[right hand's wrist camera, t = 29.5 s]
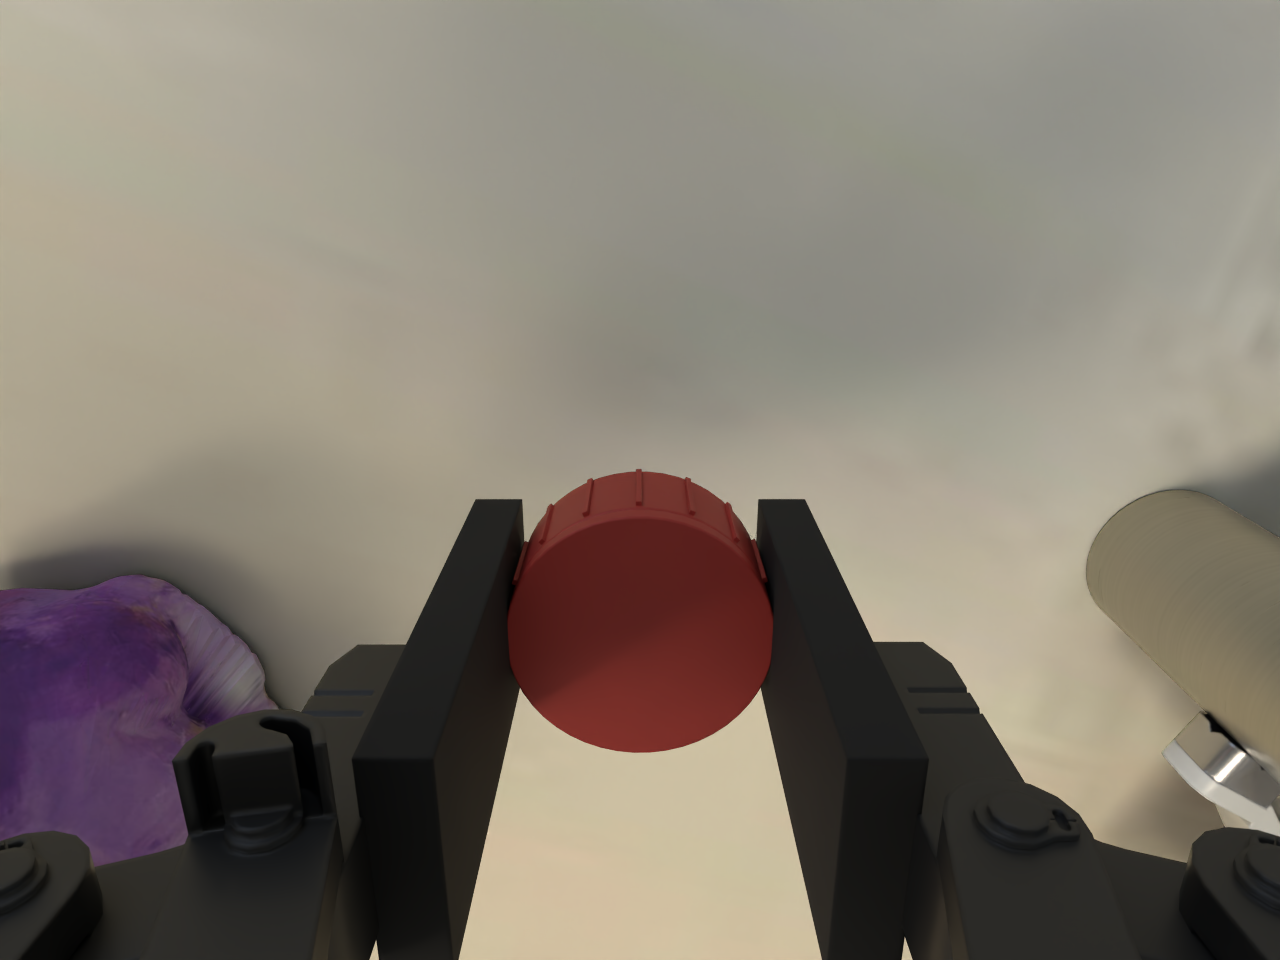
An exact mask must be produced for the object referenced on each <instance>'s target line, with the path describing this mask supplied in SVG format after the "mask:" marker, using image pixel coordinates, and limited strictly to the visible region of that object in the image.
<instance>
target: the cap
mask: <svg viewBox="0 0 1280 960" xmlns="http://www.w3.org/2000/svg"><path fill="white" fill-rule="evenodd" d="M765 582H768V580H767V576H766V573H765V570H764V566H763V563H762V560H761V556H760V553H759V550H758V546H757V543H756V541H755V539H753V540H751V539H750V536H749V534H748V532H747V531H746V529H745V527H744V526H743V524H742V522H741V521H740V520H739V518H738V517H737V516H736V515H735V513H734V512H733V511H732V507H731V504H730V503H728V502H727V503H726V504H725V503H724V502H723V501H722V500H721V499H719V498H718V497H716V496H715V495H714V494H712V493H711V492H709V491H708V490H706V489H704V488H702V487H701V486H699V485H697V484H695V483H693V482H691V479H690V478H687V477H686V478H685V479H682V478H679V477H676V476H671V475H667V474H663V473H654V472H642V470H641V469H636V472H626V473H618V474H613V475H609V476H605V477H601V478H598V479H596V480H593V479H592V478H591V479H588V480H587V483H586V484H583V485H582V486H580V487H578V488H576V489H575V490H573V491H571V492H570V493H568V494H567V495H566V496H564V497H563V498H561V499H560V500H559V501H558V502H557V503H556V504H555V505H554V506H553V505H552V504H550V505H549V506H548V508H547V511H546V514H545V515H544V516H543V518H542V519H541V520H540V522H539V523H538V525H537V526H536V528H535V530H534V532H533V533H532V535H531V537H530V540H529V542H526V541H525V542H524V544H523V548H522V551H521V554H520V558H519V561H518V564H517V568H516V571H515V574H514V578H513V581H512V584H513V585H515V588H514V591H513V595H512V598H511V601H510V605H509V610H508V614H507V623H508V641H509V657H510V666H511V669H512V671H513V674H514V677H515V679H516V681H517V683H518V684H519V686H520V688H521V690H522V692H523V693H524V695H525V696H526V697H527V699H528V700H529V701H530V703H531V704H532V705H533V706H534V707H535V708H536V710H537V711H538V712H539V713H540V714H541V715H542V716H543V717H544V718H546V719H547V720H548V721H549V722H551V723H552V724H553V725H554V726H556V727H557V728H559V729H560V730H562V731H564V732H565V733H567V734H569V735H570V736H572V737H575V738H577V739H579V740H581V741H583V742H586V743H589V744H592V745H595V746H598V747H601V748H605V749H610V750H615V751H623V752H633V753H640V752H658V751H666V750H671V749H675V748H679V747H683V746H686V745H689V744H692V743H695V742H697V741H700V740H702V739H704V738H706V737H708V736H710V735H712V734H714V733H715V732H717V731H718V730H720V729H722V728H723V727H725V726H726V725H727V724H729V723H730V722H731V721H732V720H734V719H735V718H736V717H737V716H738V715H739V714H740V713H741V712H742V711H743V710H744V709H745V708H746V707H747V706H748V705H749V704H750V702H751V701H752V699H753V698H754V697H755V695H756V694H757V692H758V691H759V689H760V687H761V685H762V684H763V682H764V680H765V678H766V676H767V673H768V670H769V667H770V664H771V651H772V634H773V611H772V607H771V603H770V600H769V596H768V593H767V589H766V586H765Z"/></svg>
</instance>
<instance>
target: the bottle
mask: <svg viewBox="0 0 1280 960" xmlns="http://www.w3.org/2000/svg"><path fill="white" fill-rule="evenodd" d="M1086 576H1087V583H1088V588H1089V591H1090V594H1091V596H1092V598H1093V599H1094V601H1095V603H1096V604H1097V605H1098V606H1099V608H1100V609H1101V610H1102V611H1103V612H1104V613H1105V614H1106V615H1107V616H1108V617H1109V618H1110V619H1111V620H1112V621H1113V622H1115V623H1116V624H1117V625H1118V626H1119V627H1120V628H1121V629H1122V630H1123V631H1124V632H1125V633H1126V634H1127V635H1128V636H1129V637H1130V638H1131V639H1132V640H1133V641H1134V642H1135V643H1136V644H1137V645H1138V646H1139V647H1140V648H1141V649H1142V650H1143V651H1144V652H1145V653H1146V654H1147V655H1148V656H1149V657H1150V658H1151V659H1152V660H1153V661H1154V662H1155V663H1156V664H1157V665H1158V666H1159V667H1160V668H1161V669H1163V670H1164V671H1165V672H1166V673H1167V674H1168V675H1169V676H1170V677H1171V678H1172V679H1173V680H1174V681H1175V682H1176V683H1177V684H1178V685H1179V686H1180V687H1181V688H1182V689H1183V690H1184V691H1185V692H1186V693H1187V694H1188V695H1189V696H1190V697H1191V698H1192V699H1193V700H1194V701H1195V702H1196V703H1197V704H1198V705H1199V706H1200V707H1201V708H1202V709H1203V710H1204V711H1205V712H1206V713H1207V714H1208V715H1210V716H1211V717H1212V718H1213V719H1214V720H1215V721H1216V722H1217V723H1218V724H1219V725H1220V726H1221V727H1222V728H1223V729H1224V730H1225V731H1226V732H1227V733H1228V734H1229V735H1230V736H1231V737H1232V738H1233V739H1234V740H1235V741H1236V742H1237V743H1238V744H1239V745H1240V746H1241V747H1242V748H1243V749H1244V750H1245V751H1246V752H1247V753H1248V754H1249V755H1250V756H1251V757H1252V758H1253V759H1254V760H1255V761H1256V762H1258V763H1259V764H1260V765H1261V766H1262V767H1263V768H1264V769H1265V770H1266V771H1267V772H1268V773H1269V774H1270V775H1271V776H1272V777H1273V778H1274V779H1275V780H1276V781H1277V782H1278V783H1279V784H1280V538H1279V537H1277V536H1276V535H1274V534H1272V533H1271V532H1269V531H1267V530H1266V529H1264V528H1262V527H1261V526H1259V525H1257V524H1256V523H1254V522H1252V521H1251V520H1249V519H1247V518H1246V517H1244V516H1242V515H1241V514H1239V513H1237V512H1236V511H1234V510H1232V509H1231V508H1229V507H1227V506H1226V505H1224V504H1222V503H1221V502H1219V501H1217V500H1216V499H1214V498H1212V497H1210V496H1208V495H1205V494H1202V493H1199V492H1194V491H1189V490H1171V491H1163V492H1158V493H1155V494H1151V495H1148V496H1145V497H1143V498H1141V499H1138V500H1136V501H1135V502H1133V503H1131V504H1129V505H1128V506H1126V507H1125V508H1123V509H1122V510H1120V511H1119V512H1118V513H1117V514H1116V515H1115V516H1113V517H1112V518H1111V519H1110V520H1109V521H1108V522H1107V524H1106V525H1105V526H1104V527H1103V528H1102V530H1101V531H1100V532H1099V534H1098V535H1097V537H1096V539H1095V541H1094V543H1093V545H1092V547H1091V550H1090V552H1089V556H1088V560H1087V568H1086Z"/></svg>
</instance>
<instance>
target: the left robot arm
mask: <svg viewBox="0 0 1280 960" xmlns="http://www.w3.org/2000/svg"><path fill="white" fill-rule="evenodd" d="M1162 755H1163V756H1164V758H1165V759H1166V760H1167V761H1168V762H1169V763H1170V764H1171V766H1172V767H1173V768H1174V769H1175V770H1176V771H1177V772H1178V773H1179V775H1180V776H1181V777H1182V778H1183V779H1184V780H1185V781H1186V783H1187V784H1188V785H1190V786H1191V787H1192V788H1193V789H1194V790H1196V791H1197V792H1198V793H1199V794H1201V795H1202V796H1203V797H1205V798H1206V799H1207V800H1209V801H1211V802H1213V803H1215V806H1216V808H1217V810H1218V813H1219V815H1220V818H1221V820H1222V822H1223V825H1224V826H1225V827H1234V828H1244V829H1254V830H1260V831H1263V832H1267V833H1270V834H1273V835H1276V836H1280V784H1279V783H1278V782H1277V781H1276V780H1275V779H1274V778H1273V777H1272V776H1271V775H1270V774H1269V773H1268V772H1267V771H1266V770H1265V769H1264V768H1263V767H1262V766H1261V765H1260V764H1259V763H1258V762H1256V761H1255V760H1254V759H1253V758H1252V757H1251V756H1250V755H1249V754H1248V753H1247V752H1246V751H1245V750H1244V749H1243V748H1242V747H1241V746H1240V745H1239V744H1238V743H1237V742H1236V741H1235V740H1234V739H1233V738H1232V737H1231V736H1230V735H1229V734H1228V733H1227V732H1226V731H1225V730H1224V729H1223V728H1222V727H1221V726H1220V725H1219V724H1218V723H1217V722H1216V721H1215V720H1214V719H1213V718H1212V717H1211V716H1210V715H1208V714H1207V713H1206V712H1204V711H1200V712H1199V713H1198V714H1197V715H1196V716H1195V717H1194V719H1193V720H1192V721H1191V722H1190V723H1189V724H1188V725H1187V726H1186V727H1185V728H1184V729H1183V730H1182V731H1181V732H1180V733H1179V734H1178V735H1177V736H1176V737H1175V738H1174V739H1173V740H1172V741H1171V743H1170V744H1169V745H1168V746H1167V747H1166V748H1165V749H1164V750H1163V751H1162Z"/></svg>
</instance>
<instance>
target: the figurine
mask: <svg viewBox="0 0 1280 960" xmlns="http://www.w3.org/2000/svg"><path fill="white" fill-rule="evenodd" d="M264 683H265V674H264V670H263V668H262V666H261V664H260V661H259V659H258V657H257V655H256V654H254V653H252V652H251V651H250V649H249V647H248V646H247V644H246V643H245V642H243V641H242V640H241V639H240V638H239V637H238V636H237V635H234V634H232V632H231V631H230V629H229V627H228V626H226V625H224V624H223V623H222V622H220V621H219V620H218V619H217V618H216V617H215V616H214V615H213V614H212V613H211V612H209V611H208V610H207V609H206V608H205V607H204V606H202V605H200V604H198V603H197V602H196V601H194V600H193V599H192V598H191V597H189V596H188V595H185V594H182V593H181V591H180V589H178V588H176V587H175V586H173V585H172V584H170V583H168V582H167V581H165V580H161V579H157V578H150V577H147V576H144V575H142V574H138V575H127V576H118V577H115V578H112V579H109V580H107V581H105V582H103V583H100V584H98V585H96V586H92V587H89V588H83V589H77V590H59V589H35V588H18V589H9V590H0V841H1V840H5V839H8V838H11V837H14V836H18V835H21V834H25V833H35V832H45V831H58V832H63V833H68V834H72V835H77V836H78V837H79V838H80V839H81V840H82V841H83V842H84V843H85V844H86V845H87V846H88V847H89V849H90V852H91V856H92V859H93V863H94V867H96V866H100V865H105V864H109V863H114V862H118V861H122V860H127V859H131V858H135V857H140V856H144V855H149V854H153V853H157V852H161V851H164V850H167V849H171V848H174V847H177V846H181V845H183V844H185V842H186V839H187V837H188V831H187V827H186V822H185V818H184V813H183V809H182V805H181V800H180V796H179V791H178V787H177V782H176V778H175V773H174V769H173V764H172V760H173V759H174V757H175V756H176V755H177V753H178V752H179V751H180V750H181V748H182V747H183V746H184V744H185V743H186V742H188V741H189V740H190V739H192V738H193V737H195V736H196V735H198V734H199V733H201V732H202V731H203V730H205V729H206V728H208V727H210V726H212V725H214V724H217V723H219V722H222V721H224V720H226V719H229V718H231V717H234V716H236V715H241V714H245V713H250V712H255V711H260V710H264V709H279V708H278V707H277V705H276V704H275V702H273V701H272V700H271V699H270V698H269V697H268V696H267V694H266V692H265V688H264Z"/></svg>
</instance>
